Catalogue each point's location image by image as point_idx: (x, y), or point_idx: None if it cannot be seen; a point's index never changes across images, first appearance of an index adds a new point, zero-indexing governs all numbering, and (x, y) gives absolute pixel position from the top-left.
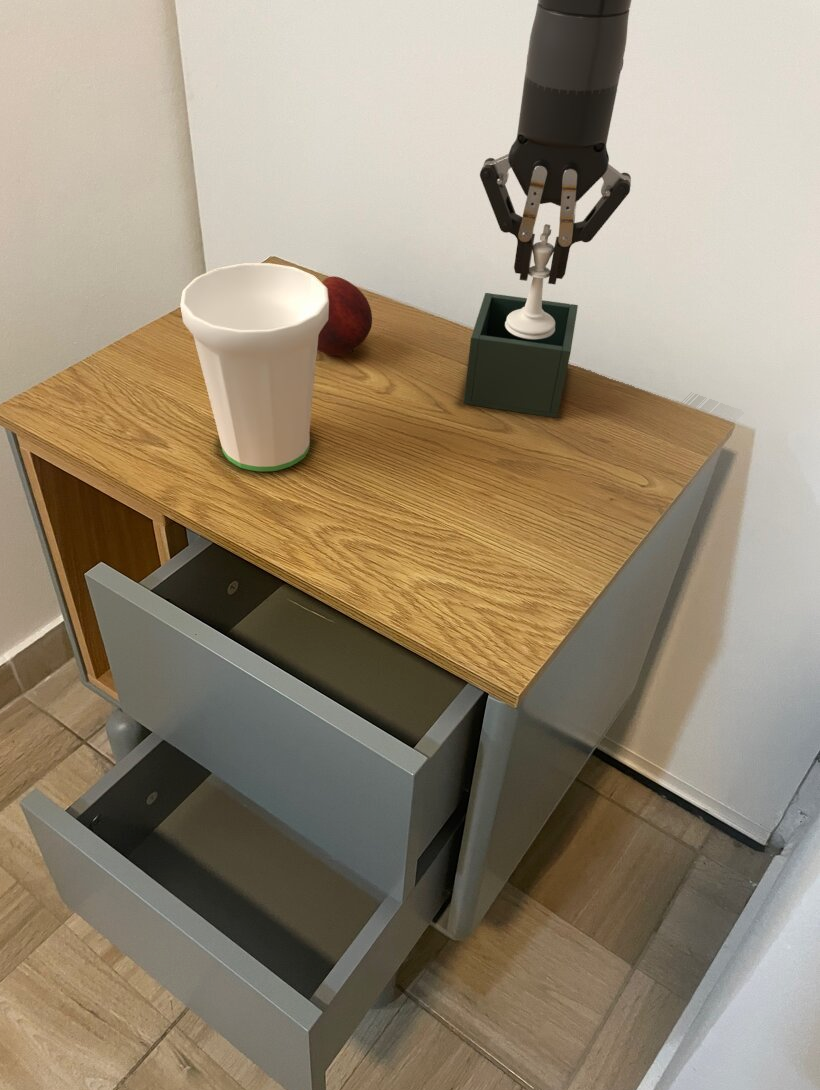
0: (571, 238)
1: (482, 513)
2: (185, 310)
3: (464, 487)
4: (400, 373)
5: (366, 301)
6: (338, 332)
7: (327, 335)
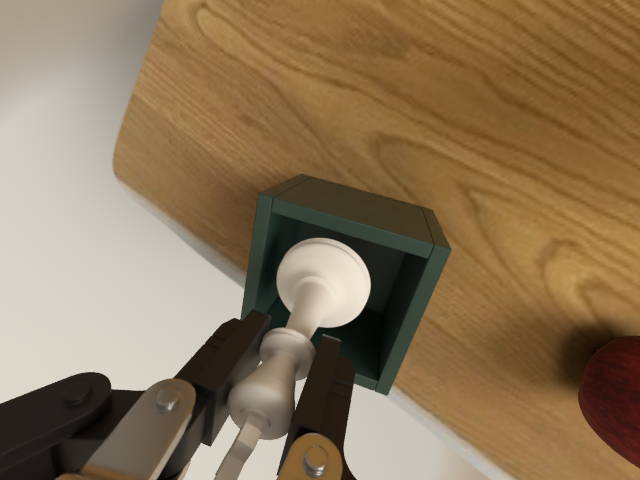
0: (140, 399)
1: None
2: None
3: None
4: (518, 292)
5: (622, 424)
6: None
7: None
